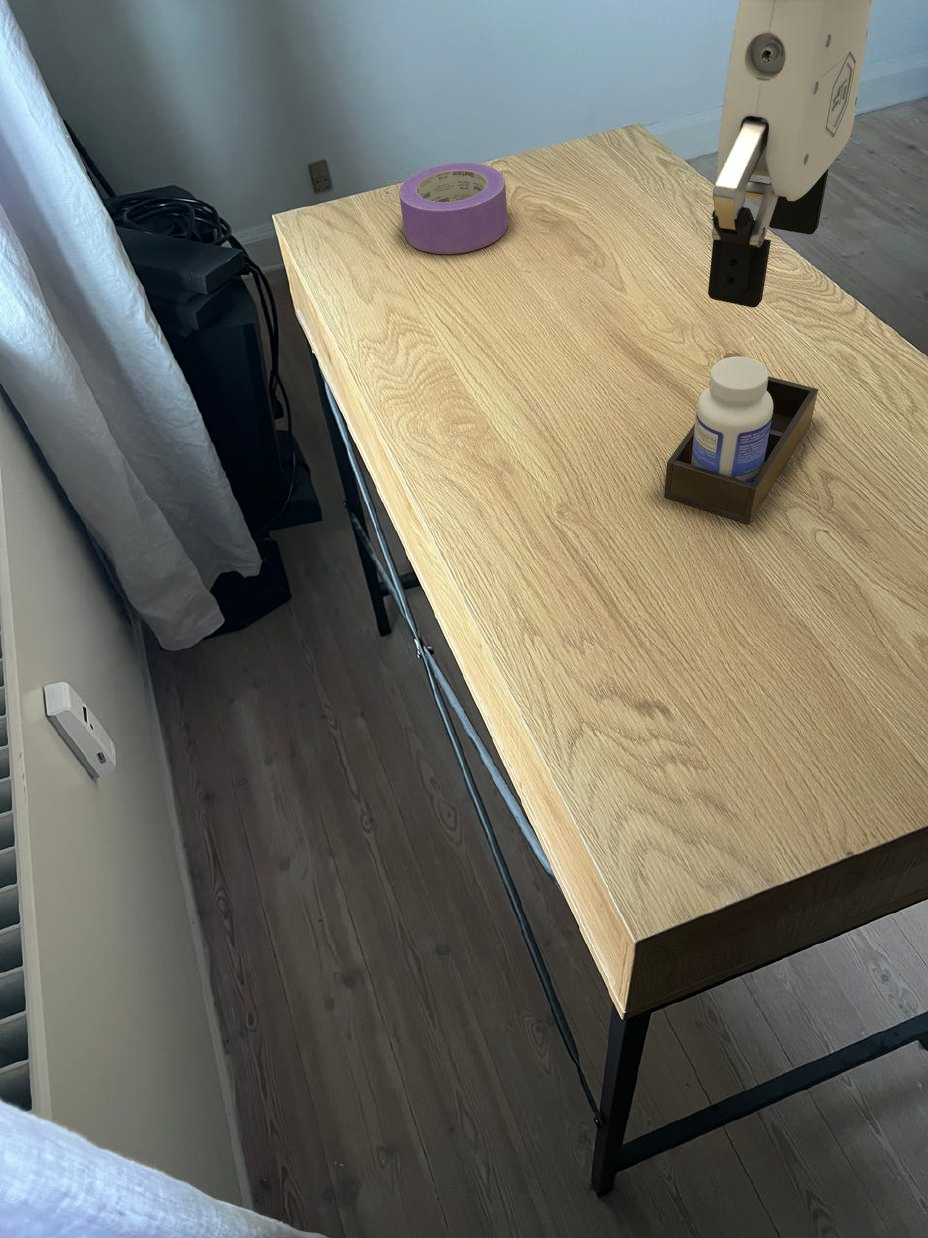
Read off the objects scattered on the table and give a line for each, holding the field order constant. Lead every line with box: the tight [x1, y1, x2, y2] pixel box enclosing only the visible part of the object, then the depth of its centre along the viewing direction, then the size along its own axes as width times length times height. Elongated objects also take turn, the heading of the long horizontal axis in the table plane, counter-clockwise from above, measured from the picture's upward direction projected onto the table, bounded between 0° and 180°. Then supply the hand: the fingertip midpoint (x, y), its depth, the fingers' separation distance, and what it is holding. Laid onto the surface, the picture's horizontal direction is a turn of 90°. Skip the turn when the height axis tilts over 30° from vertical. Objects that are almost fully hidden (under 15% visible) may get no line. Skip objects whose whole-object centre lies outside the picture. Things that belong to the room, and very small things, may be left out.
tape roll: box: [398, 162, 509, 255], centre depth 103 cm, size 12×12×5 cm
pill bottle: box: [691, 355, 773, 484], centre depth 69 cm, size 5×5×10 cm
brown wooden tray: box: [663, 375, 819, 525], centre depth 74 cm, size 7×14×4 cm, turn 147°
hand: (764, 263), depth 59 cm, fingers open, 9 cm apart
